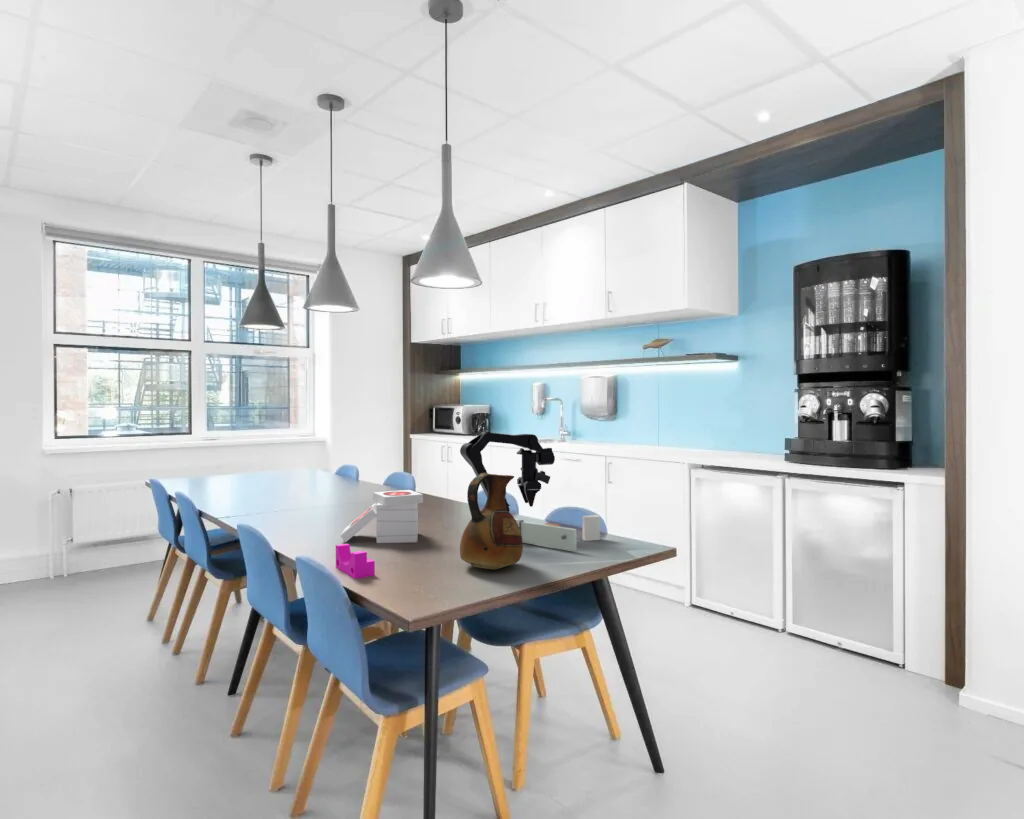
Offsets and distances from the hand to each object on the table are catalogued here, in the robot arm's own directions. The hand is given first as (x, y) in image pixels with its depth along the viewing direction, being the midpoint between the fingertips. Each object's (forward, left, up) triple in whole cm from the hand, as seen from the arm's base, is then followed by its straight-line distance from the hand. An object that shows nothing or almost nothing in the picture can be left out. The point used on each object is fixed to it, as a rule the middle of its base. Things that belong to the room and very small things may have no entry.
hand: (528, 504), depth 245 cm
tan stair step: (+6, -18, -12) cm, 22 cm away
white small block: (-6, -14, -12) cm, 20 cm away
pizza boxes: (-57, +1, -12) cm, 58 cm away
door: (-6, -14, -12) cm, 20 cm away
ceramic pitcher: (-23, -45, -12) cm, 52 cm away
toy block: (-66, -42, -12) cm, 79 cm away
